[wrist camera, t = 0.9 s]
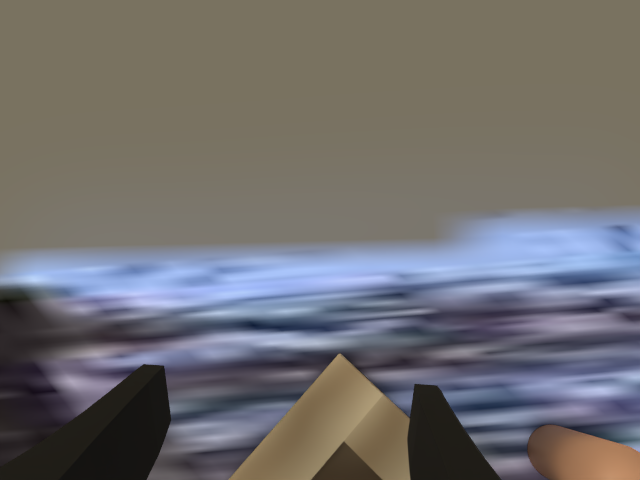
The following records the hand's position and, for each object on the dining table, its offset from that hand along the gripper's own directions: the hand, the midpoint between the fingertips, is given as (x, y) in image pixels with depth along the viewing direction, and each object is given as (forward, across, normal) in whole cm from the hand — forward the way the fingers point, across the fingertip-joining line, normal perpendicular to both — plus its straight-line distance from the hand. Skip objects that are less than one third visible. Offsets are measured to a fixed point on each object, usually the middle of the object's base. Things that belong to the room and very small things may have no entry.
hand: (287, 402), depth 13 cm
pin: (+9, -13, +11) cm, 20 cm away
